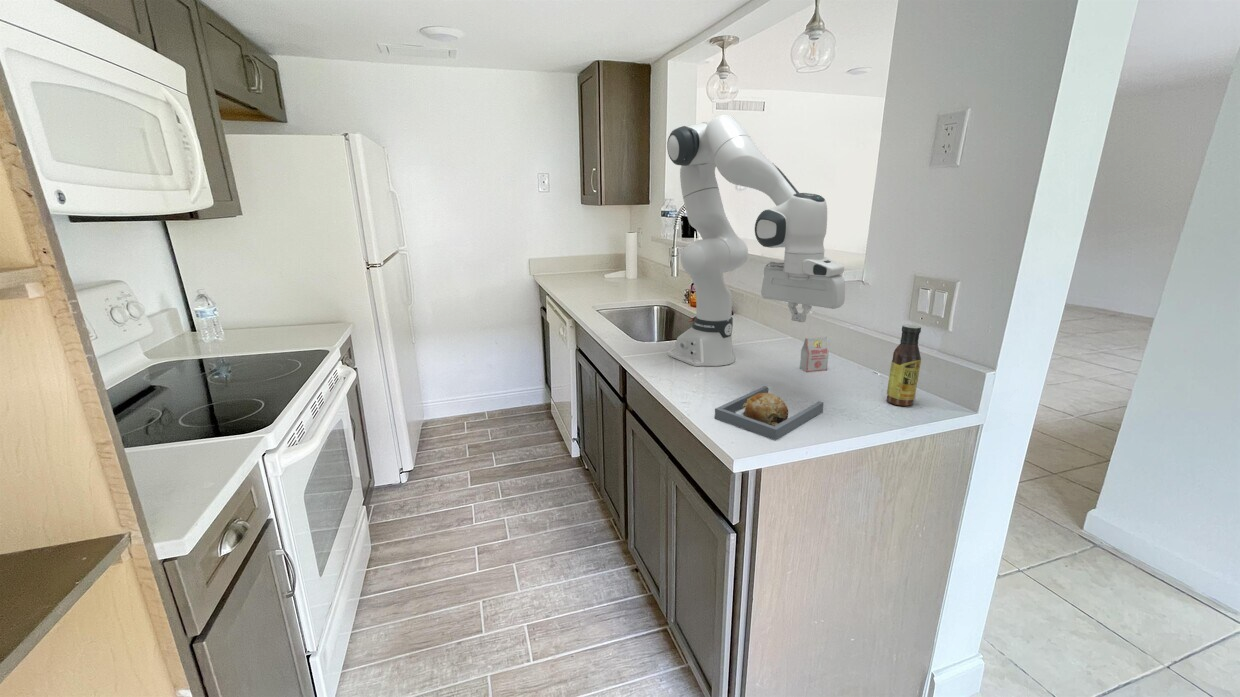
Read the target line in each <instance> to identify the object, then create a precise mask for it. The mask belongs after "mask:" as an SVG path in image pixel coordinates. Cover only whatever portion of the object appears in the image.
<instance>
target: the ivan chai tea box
mask: <svg viewBox="0 0 1240 697" xmlns="http://www.w3.org/2000/svg"><path fill="white" fill-rule="evenodd" d="M829 352H830V350H829V345H828V337H827V336H823V337H822V336H821V337H810V338H809V337H807V338H805V339H804V343H803V345H802V347H801V349H800V362H799V363H800V365H799V369H800V370H802V371H803V372H805V373H813V372H815V373H816V372H826V371H828V363H829Z"/></svg>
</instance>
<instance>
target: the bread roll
mask: <svg viewBox="0 0 1240 697" xmlns="http://www.w3.org/2000/svg"><path fill="white" fill-rule="evenodd" d="M743 408H744V416H745V417H748V418H751V419H754V420H757V421H760V422H763V423H766V424H769V425H772V426H776V425H778V424H779V423H781V422H783V421H785V420H786V419H788V417H789V409H788V406H787V405H786V403H785V402H784V400H782V398H781V397H780V396H779V395H775V394H774V393H769V392H768V393H759V394H756V395H754V396H752V397H751V398H749V399H747V402H746V403H744V405H743ZM743 408H742V409H743Z"/></svg>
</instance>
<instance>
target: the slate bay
mask: <svg viewBox="0 0 1240 697" xmlns="http://www.w3.org/2000/svg"><path fill="white" fill-rule="evenodd" d="M759 393H769V386H766V385H764V386H761V387H759V388H757V389H755V390H752V391H750V392H748V393H746V394H744V395H741V396H740V397H738V398H735V399H733V400H731V401H729V402H727V403H724V404H723V405H720V406H718V407H716V408H715V409H714V419H715V420H718V421H721V422H724V423H726V424H729V425H733V426H735V427H738V428H740V429H743V430H746V431H748V432H751V433H755V434H757V435H760V436H762V437H765V438H768V439H770V440H774V441H777V440H779V439H780V438H781V437H783V436H786V434H788V433H790V432H792V431H794V430H795V429H796V428H798V427H800V426H802V425H803V424H805V423H807V422H808V421H810V420H812V419H814V418H815V417H817V416H819V415H820V414H822V413H823V412H824V405H825V404H824V402H823V401H819V400H818V401H817V402H815V403H813V404H812V405H809V406H808V407H806V408H804V409H803V410H801V411H799V412H797V413H796V414H793V415H792V416H790V417H789V418H787V419H786V420H785V421H783V422H781V423H779V424H778V425H776V426H772V425H769V424H766V423H763V422H760V421H757V420H754V419H751V418H748V417H745V415H742V414H739V413H737V412H738V411H740V410H741V409H743V405H744V403H746V402H747V399H749V398H751V397H752V396H754V395H756V394H759Z"/></svg>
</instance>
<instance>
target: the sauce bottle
mask: <svg viewBox="0 0 1240 697" xmlns="http://www.w3.org/2000/svg"><path fill="white" fill-rule="evenodd" d="M901 326H902V327H901V338H900V340H899V342H900V343H899V344H898V346H897V347H896V348H895V349H894V350H893V354H892V360H891V365H890V370H889V377H888V384H887V390H886V401H887V402H888V403H890V404H893V405H896V406H903V407H905V406H906V407H908V406H912V405H913V404H914V401H915V399H916V393H917V392H916V391H917V386H918V381H919V375H920V368H921V362H922V358H921V352H920V348H919V338H920V334H921V332H922V327H921V326H920V325H916V324H902V325H901Z"/></svg>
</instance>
